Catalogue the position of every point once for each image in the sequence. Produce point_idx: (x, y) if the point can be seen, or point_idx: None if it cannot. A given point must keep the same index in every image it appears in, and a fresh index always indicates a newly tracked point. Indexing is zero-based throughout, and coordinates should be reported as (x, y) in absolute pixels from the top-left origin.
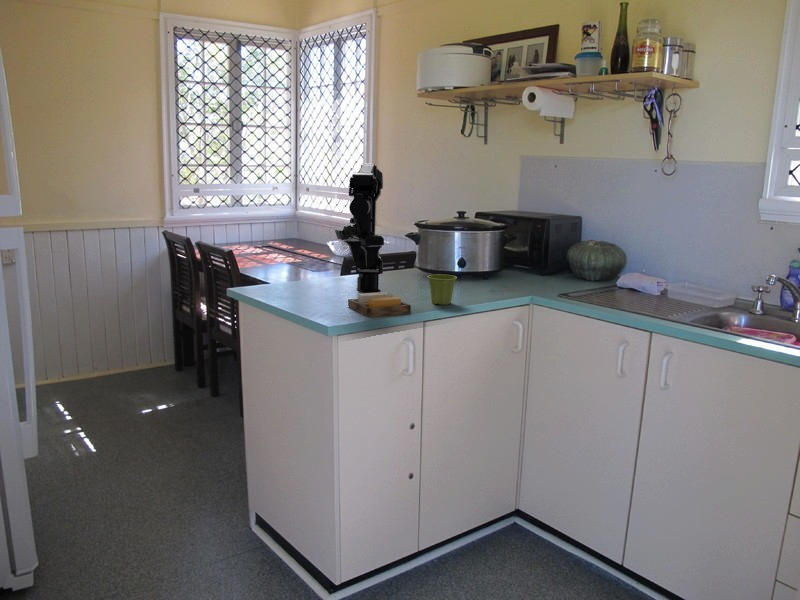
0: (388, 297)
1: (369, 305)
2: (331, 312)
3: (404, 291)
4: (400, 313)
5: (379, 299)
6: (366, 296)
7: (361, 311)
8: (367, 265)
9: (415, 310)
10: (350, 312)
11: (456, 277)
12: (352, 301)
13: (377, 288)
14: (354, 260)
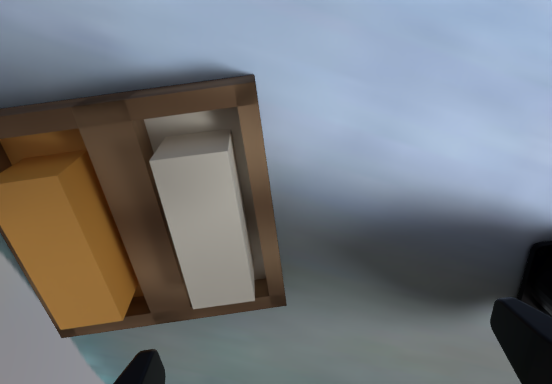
0: (94, 286)
1: (63, 161)
2: None
3: (467, 376)
4: None
5: (33, 230)
6: (157, 185)
7: (61, 102)
8: (124, 378)
9: (126, 334)
10: (105, 44)
11: None
12: (184, 91)
13: (541, 308)
14: (521, 325)
